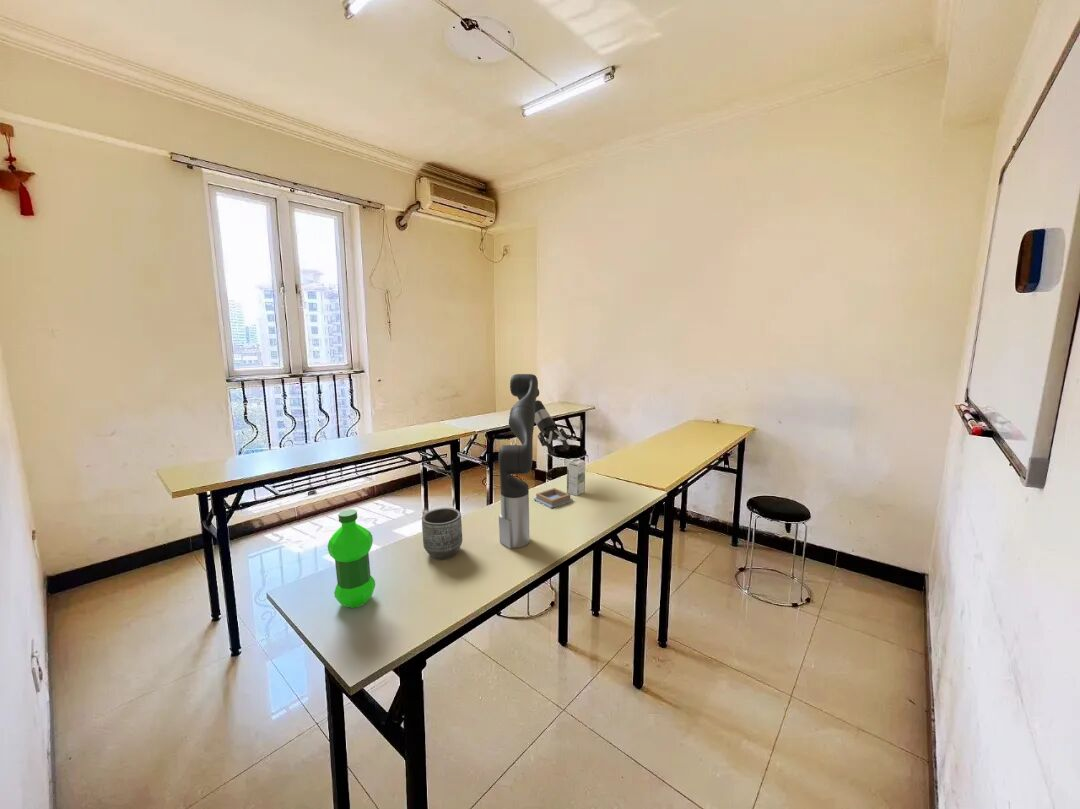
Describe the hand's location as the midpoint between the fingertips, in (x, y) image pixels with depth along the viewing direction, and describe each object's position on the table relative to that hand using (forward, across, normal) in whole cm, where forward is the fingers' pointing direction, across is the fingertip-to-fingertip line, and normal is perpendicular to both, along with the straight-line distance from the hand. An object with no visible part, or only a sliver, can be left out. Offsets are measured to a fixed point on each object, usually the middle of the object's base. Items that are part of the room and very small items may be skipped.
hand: (560, 450), depth 189 cm
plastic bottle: (+31, -96, -6) cm, 101 cm away
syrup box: (+19, 0, +5) cm, 20 cm away
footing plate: (+19, -13, +5) cm, 23 cm away
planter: (+25, -67, -1) cm, 71 cm away
